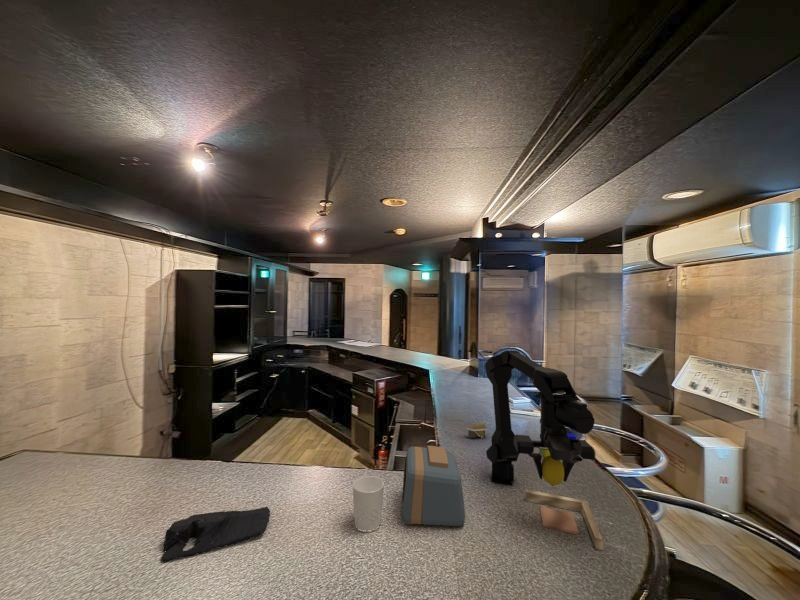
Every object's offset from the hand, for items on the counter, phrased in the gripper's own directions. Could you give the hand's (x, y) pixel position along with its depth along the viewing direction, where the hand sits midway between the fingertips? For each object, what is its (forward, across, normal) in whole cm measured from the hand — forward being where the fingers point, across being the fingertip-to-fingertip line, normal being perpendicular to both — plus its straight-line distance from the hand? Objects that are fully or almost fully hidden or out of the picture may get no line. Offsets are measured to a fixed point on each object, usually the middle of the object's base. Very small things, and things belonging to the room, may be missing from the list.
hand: (552, 479), depth 81 cm
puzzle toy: (+12, +15, +42) cm, 46 cm away
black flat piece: (+12, -82, -19) cm, 85 cm away
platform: (+13, -14, +54) cm, 58 cm away
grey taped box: (+12, -31, 0) cm, 34 cm away
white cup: (+12, -47, -9) cm, 50 cm away
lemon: (+2, 0, 0) cm, 2 cm away
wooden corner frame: (+11, +2, +1) cm, 12 cm away
